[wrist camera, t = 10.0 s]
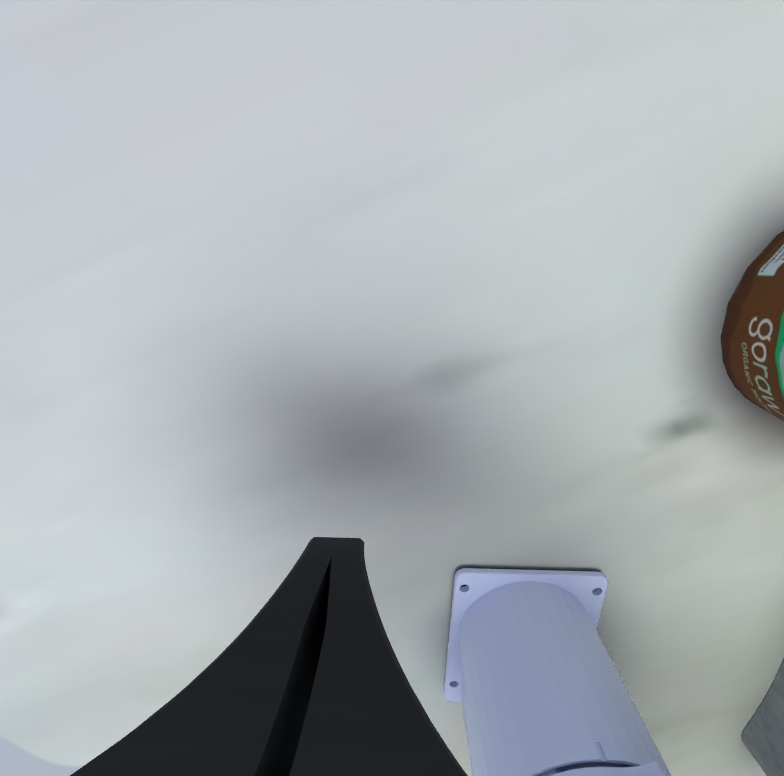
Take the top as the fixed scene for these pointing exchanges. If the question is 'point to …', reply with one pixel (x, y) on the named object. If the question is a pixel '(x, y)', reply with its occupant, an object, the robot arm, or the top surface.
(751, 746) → the hip flask
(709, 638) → the top surface
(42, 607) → the top surface
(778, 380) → the food container
